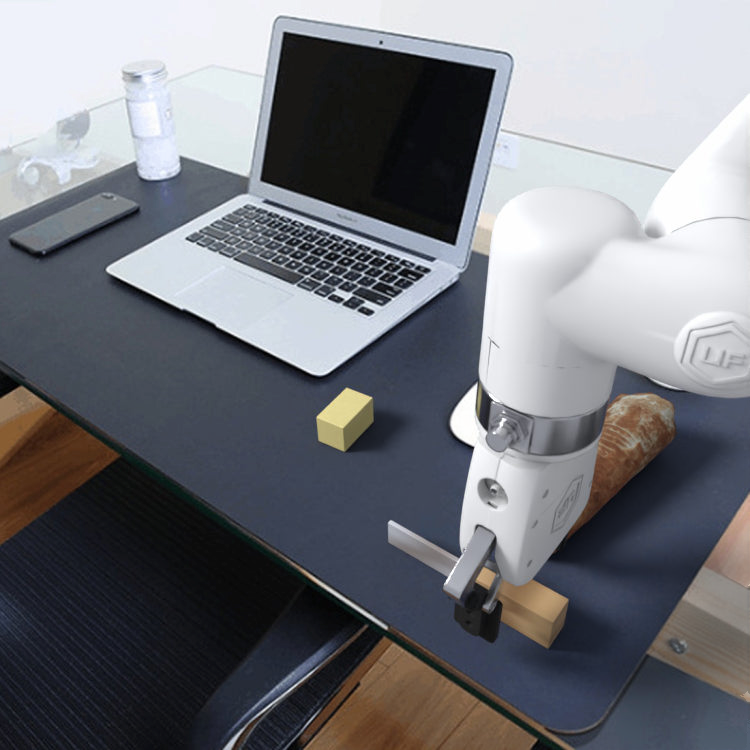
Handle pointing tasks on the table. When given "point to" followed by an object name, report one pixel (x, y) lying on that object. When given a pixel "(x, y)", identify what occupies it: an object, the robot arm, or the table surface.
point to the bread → (627, 446)
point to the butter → (345, 419)
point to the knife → (520, 604)
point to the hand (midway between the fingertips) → (511, 582)
